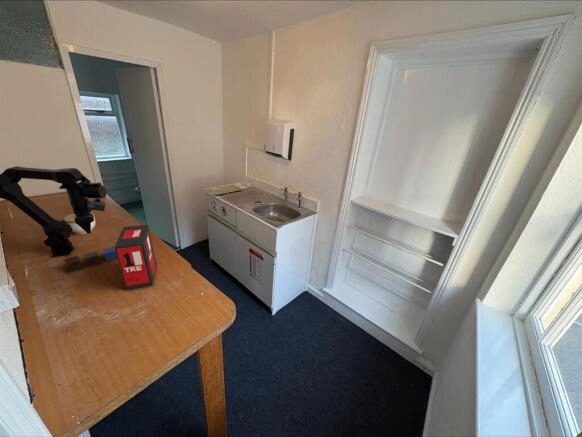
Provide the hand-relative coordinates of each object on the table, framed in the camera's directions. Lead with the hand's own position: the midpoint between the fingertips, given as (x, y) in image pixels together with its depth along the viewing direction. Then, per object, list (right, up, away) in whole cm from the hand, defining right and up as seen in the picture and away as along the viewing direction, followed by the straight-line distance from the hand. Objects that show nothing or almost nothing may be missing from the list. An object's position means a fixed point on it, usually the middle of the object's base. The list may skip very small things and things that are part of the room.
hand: (88, 229), depth 108 cm
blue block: (+10, -14, +1) cm, 17 cm away
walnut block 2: (+5, -15, -3) cm, 16 cm away
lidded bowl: (-21, -2, +21) cm, 29 cm away
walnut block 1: (0, -17, -7) cm, 18 cm away
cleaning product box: (+31, -20, -8) cm, 37 cm away
